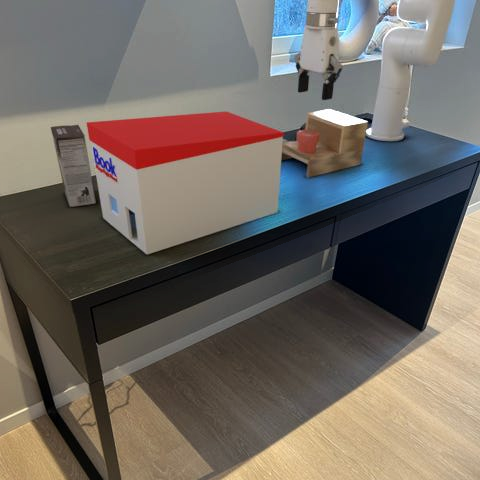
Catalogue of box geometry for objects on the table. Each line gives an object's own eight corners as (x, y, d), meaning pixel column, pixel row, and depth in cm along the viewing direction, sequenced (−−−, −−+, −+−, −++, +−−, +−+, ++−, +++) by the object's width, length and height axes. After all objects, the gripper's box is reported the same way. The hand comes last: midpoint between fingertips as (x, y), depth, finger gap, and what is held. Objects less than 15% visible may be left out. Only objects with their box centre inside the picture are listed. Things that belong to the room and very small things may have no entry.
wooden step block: (324, 149, 151) (329, 108, 144) (360, 164, 141) (368, 121, 133) (273, 161, 142) (276, 118, 135) (308, 177, 132) (313, 132, 124)
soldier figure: (284, 144, 157) (305, 143, 147) (276, 157, 157) (296, 156, 147) (268, 128, 153) (288, 125, 143) (260, 141, 153) (280, 139, 143)
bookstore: (101, 218, 110) (85, 122, 97) (226, 184, 127) (226, 99, 114) (145, 255, 96) (133, 150, 84) (278, 212, 114) (284, 119, 101)
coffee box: (64, 193, 120) (49, 126, 111) (90, 189, 123) (78, 123, 113) (69, 207, 114) (54, 137, 104) (96, 203, 116) (85, 134, 106)
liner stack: (307, 145, 140) (309, 128, 137) (322, 151, 136) (324, 133, 133) (291, 148, 137) (292, 131, 134) (305, 154, 133) (306, 137, 130)
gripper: (357, 23, 114) (347, 100, 125) (310, 16, 126) (304, 87, 136) (334, 25, 111) (325, 104, 122) (287, 18, 122) (283, 90, 133)
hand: (314, 95), depth 129 cm, fingers open, 9 cm apart
